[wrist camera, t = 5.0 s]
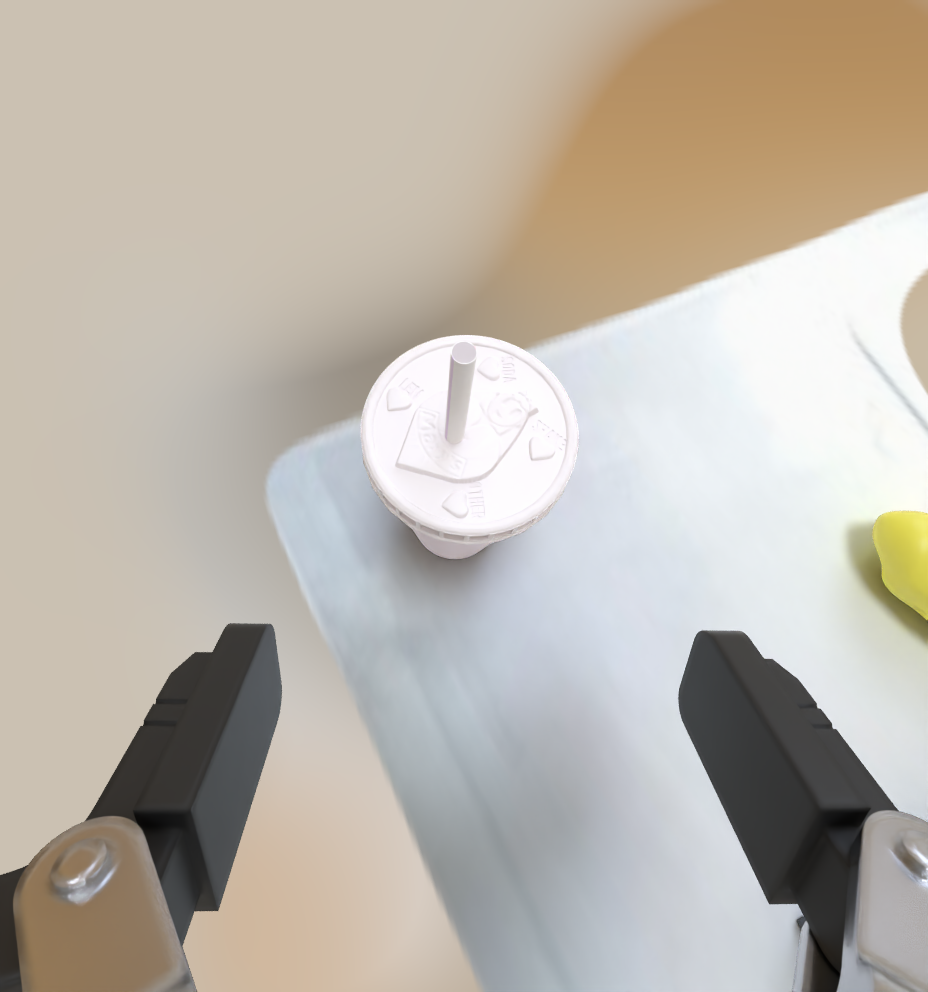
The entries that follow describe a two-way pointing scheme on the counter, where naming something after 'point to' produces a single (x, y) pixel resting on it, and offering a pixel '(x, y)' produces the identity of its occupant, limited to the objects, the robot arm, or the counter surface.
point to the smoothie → (468, 442)
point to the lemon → (904, 556)
